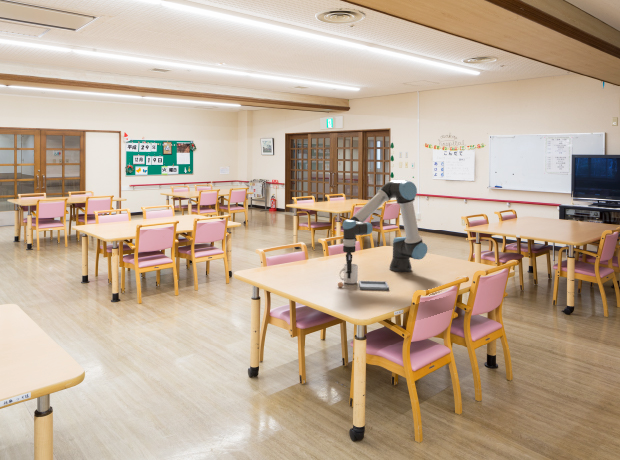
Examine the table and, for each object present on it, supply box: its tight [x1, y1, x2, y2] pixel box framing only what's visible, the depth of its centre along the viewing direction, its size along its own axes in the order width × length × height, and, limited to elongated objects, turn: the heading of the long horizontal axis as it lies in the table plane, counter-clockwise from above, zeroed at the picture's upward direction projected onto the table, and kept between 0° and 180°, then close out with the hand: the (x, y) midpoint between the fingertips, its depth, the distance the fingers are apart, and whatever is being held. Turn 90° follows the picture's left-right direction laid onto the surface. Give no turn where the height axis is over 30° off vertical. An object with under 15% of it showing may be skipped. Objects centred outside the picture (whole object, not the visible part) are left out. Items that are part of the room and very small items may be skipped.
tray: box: [358, 280, 390, 291], centre depth 294 cm, size 17×14×2 cm
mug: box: [339, 263, 359, 284], centre depth 301 cm, size 9×12×11 cm
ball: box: [337, 281, 344, 288], centre depth 292 cm, size 3×3×3 cm
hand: (348, 281), depth 303 cm, fingers closed on mug, 9 cm apart
